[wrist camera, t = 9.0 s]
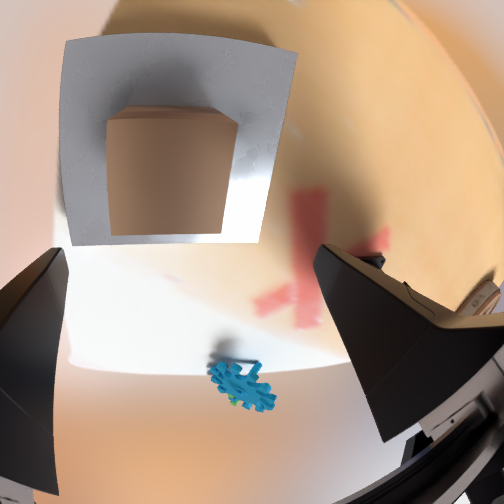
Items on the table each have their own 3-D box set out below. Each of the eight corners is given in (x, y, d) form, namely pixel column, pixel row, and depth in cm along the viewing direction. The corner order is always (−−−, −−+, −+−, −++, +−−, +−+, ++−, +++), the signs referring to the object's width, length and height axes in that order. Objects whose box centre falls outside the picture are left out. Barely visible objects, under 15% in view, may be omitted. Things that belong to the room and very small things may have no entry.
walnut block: (214, 107, 14) (238, 123, 10) (204, 184, 17) (221, 233, 12) (129, 105, 12) (107, 119, 8) (126, 184, 15) (111, 235, 11)
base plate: (282, 55, 15) (297, 53, 13) (248, 225, 23) (257, 241, 21) (78, 45, 10) (65, 41, 8) (80, 228, 18) (72, 245, 16)
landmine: (473, 284, 53) (495, 309, 45) (498, 273, 60) (515, 292, 53) (431, 342, 67) (448, 365, 59) (464, 323, 74) (478, 342, 66)
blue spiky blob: (215, 357, 30) (284, 403, 28) (240, 327, 35) (303, 368, 33) (200, 386, 37) (254, 423, 35) (221, 361, 42) (271, 395, 40)
